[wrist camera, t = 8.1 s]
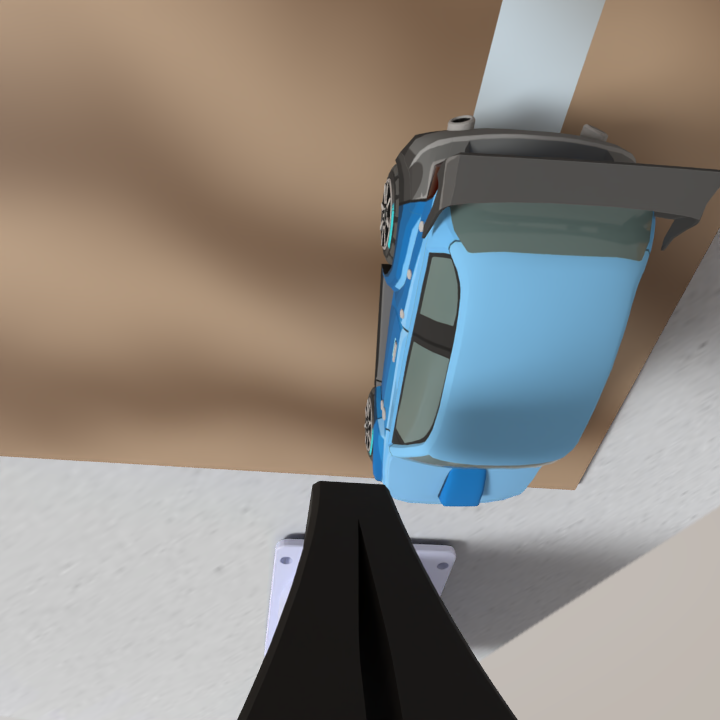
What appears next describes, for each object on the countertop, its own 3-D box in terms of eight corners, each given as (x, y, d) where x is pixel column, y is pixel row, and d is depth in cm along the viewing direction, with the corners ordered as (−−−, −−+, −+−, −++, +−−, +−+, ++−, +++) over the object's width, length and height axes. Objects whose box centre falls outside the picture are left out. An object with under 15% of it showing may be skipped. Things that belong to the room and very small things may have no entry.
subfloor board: (571, 484, 22) (574, 490, 22) (-58, 446, 19) (-63, 452, 18) (927, -172, 11) (941, -176, 11) (-439, -559, 8) (-465, -579, 7)
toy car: (354, 450, 20) (366, 591, 15) (389, 96, 13) (430, 150, 8) (506, 452, 20) (563, 587, 16) (613, 114, 14) (770, 173, 9)
